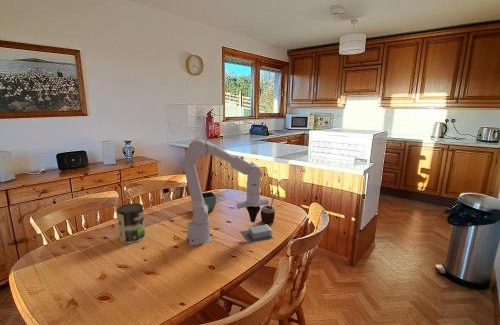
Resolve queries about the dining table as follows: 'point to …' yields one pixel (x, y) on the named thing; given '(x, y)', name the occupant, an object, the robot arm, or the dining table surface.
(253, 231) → the slab
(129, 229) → the coffee can
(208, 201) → the flower pot
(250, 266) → the dining table surface
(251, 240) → the mat
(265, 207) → the mate gourd
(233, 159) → the robot arm
